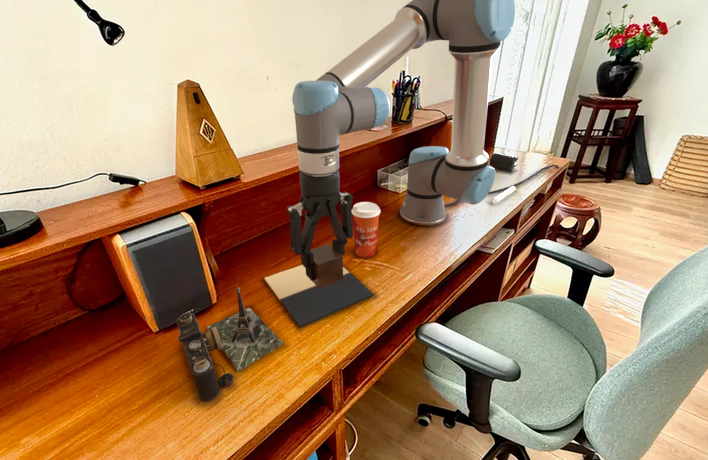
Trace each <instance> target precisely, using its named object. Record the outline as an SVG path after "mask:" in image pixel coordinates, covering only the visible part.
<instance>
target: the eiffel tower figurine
mask: <svg viewBox="0 0 708 460" xmlns="http://www.w3.org/2000/svg"><path fill="white" fill-rule="evenodd" d="M235 292H236V295H237V301H238V303H237V304H238V312H237V313H235V314H232V315H230V316H228V317H226V318H224V319H221V320H219V321H217V322H215V323H213V324H210V325H208V326H206V329H207V332H208V331H210V330H211V328H213V327H216V329H217V331H219V334H220V335H219V336H221V340H222V349H221V350H222V351H223V353H224V354H225V355H226V357H227V358H228V359H229V361H230V362H231V364H232V366H233V367H234V368H235V370H236V371H237V372H238V373H239V372H240V371H242V370H244V369H245V368H247V367H249V366H251V365H252V364H254V363H255V362H257V361H258V360H260V359H262V358H263V357H265V356H267V355H268V354H269V353H271V352H273V351H274V350H277V348H279V347H280V346H282V345H284V344H285V343H284V342H283V341H282V339H280V337H278V335H277V334H276V333H274V331H273V330H272V329H271V328H270V327H269V326H268V325H267V324H266V323H265V322H264V321H263V319H261V318H260V317H259V316H258V314H256V313H255V311H254V310H253V309H251V308H250V307H248V308H246V307H245V304H244V300H243V297H242V294H241V289H240V287H239V286H238V285H236V290H235Z"/></svg>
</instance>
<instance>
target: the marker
mask: <svg viewBox="0 0 708 460" xmlns="http://www.w3.org/2000/svg"><path fill="white" fill-rule="evenodd" d="M511 186H512V185H511ZM516 190H517V186H512V187H510V188H508V189H506V190H503V191H501V193H499V194H498V195H496V196H494V197H493V198H492V199H491V203H492V204H497V203H499V202H500V201H502V200H503V199H505V198H506V197H508V196H509V195H511V194H512V193H514V192H515V191H516Z"/></svg>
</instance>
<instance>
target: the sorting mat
mask: <svg viewBox="0 0 708 460" xmlns="http://www.w3.org/2000/svg"><path fill="white" fill-rule="evenodd" d="M263 279H264V281H265V283H266V284H267V285H268V286H269V288H270V289H271V291H272V292H273V294H274V295H275V296H276V297H277V299H278V300H279V302H280V303H281V304H282V306H283V307H284V308H285V310H286V311H287V312H288V313H289V315H290V316H291V318H292V319H293V320H294V322H295V323H296V324H297V326H298V327H299V328H300V329H301V328H304V327H305V326H307V325H310V324H312V323H315V322H317V321H319V320H321V319H323V318H326V317H328V316H330V315H333V314H335V313H337V312H339V311H342V310H344V309H346V308H348V307H351V306H354V305H356V304H359V303H360V302H362V301H365V300H367V299H370V298H371V297H374V292H372V291H371V290H370V289H368V288H367V287H366V286H365V285H364V284H363V283H362V282H361V281H360V280H359V279H357V278H356V277H355V276H354V275H353V274H352V273H351V272H350V271H348V269H346V268H345V267H344V266H343V279H342V280H340V281H337V282H335V283H332V284H330V285H327V286H324V287H322V288H318V287H317V286H316V285H315V284H314V283H313V282H312V281H311V280H310V279H309V278H308V276H307V275H306V268H305V267H304V266H303V265H302V264H300V265H297V266H295V267H292V268H289V269H286V270H283V271H280V272H276V273H274V274H271V275H268V276H266V277H264V278H263Z"/></svg>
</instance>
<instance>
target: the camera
mask: <svg viewBox="0 0 708 460" xmlns="http://www.w3.org/2000/svg"><path fill="white" fill-rule="evenodd" d="M176 325H177V328H178V332H179V335H178V336H177V339H178V342H179V343H182V346H183V349H184V353H185V356H186V359H187V362H188V365H189V369H190V372H191V375H192V378H193V381H194V384H195V387H196V390H197V394H198V398H199V399H200V401H201V402H205V403H206V402H212V401H213V400H215V399H216V398H218V396H219V395H220V392H221V389H220V386H221V387H222V388H227V387H229V386H231V385H232V384H233V383H234V379H235V378H234V375H233V374H232V373H230V372H229V373H226V370H225V367H223V366H222V365H221V364H220V363H219V364H218V363H216V362H214V361H213V360H212V358H211V355H210V353H211V352H213V351H216V350H217V352H218V351H221V350H223V349H222V340H221V336H219V335H220V334H219V331H217V329H216V327H213V328H211V330H210V331H208V330H207V331H205V332H202V330H201V327H200V325H199V322H198V319H197V317H196V315H195V314H194V313H193V312H185V313H182V314H181V315H178V317H177V318H176ZM214 365H217V366H219V367H220V368H221V369H222V370H223V373H224V374H222V375H221V376H219V378H218V379H217V375H216V368H215V366H214Z"/></svg>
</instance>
